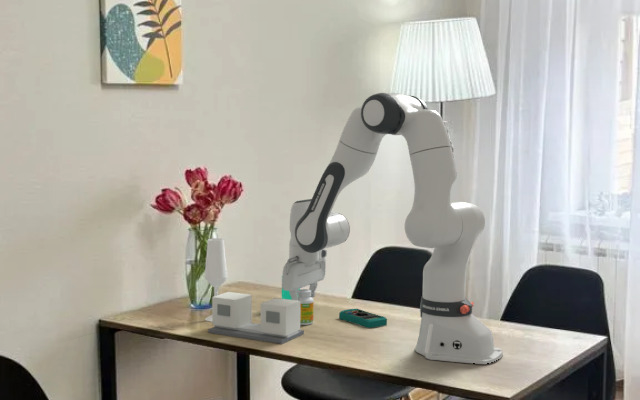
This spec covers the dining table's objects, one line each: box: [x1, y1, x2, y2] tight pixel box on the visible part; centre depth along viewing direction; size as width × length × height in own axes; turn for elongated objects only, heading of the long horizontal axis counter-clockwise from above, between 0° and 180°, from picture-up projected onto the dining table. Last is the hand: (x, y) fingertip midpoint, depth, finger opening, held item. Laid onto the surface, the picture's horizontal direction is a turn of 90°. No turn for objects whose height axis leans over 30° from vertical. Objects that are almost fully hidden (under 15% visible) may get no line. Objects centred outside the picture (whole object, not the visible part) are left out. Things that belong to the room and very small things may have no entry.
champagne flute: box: [204, 237, 228, 323], centre depth 267 cm, size 7×7×24 cm
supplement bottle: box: [298, 288, 315, 326], centre depth 264 cm, size 5×5×10 cm
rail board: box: [207, 291, 305, 345], centre depth 252 cm, size 24×12×10 cm, turn 62°
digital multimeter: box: [338, 308, 388, 329], centre depth 267 cm, size 7×15×3 cm, turn 36°
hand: (303, 300), depth 264 cm, fingers open, 8 cm apart
